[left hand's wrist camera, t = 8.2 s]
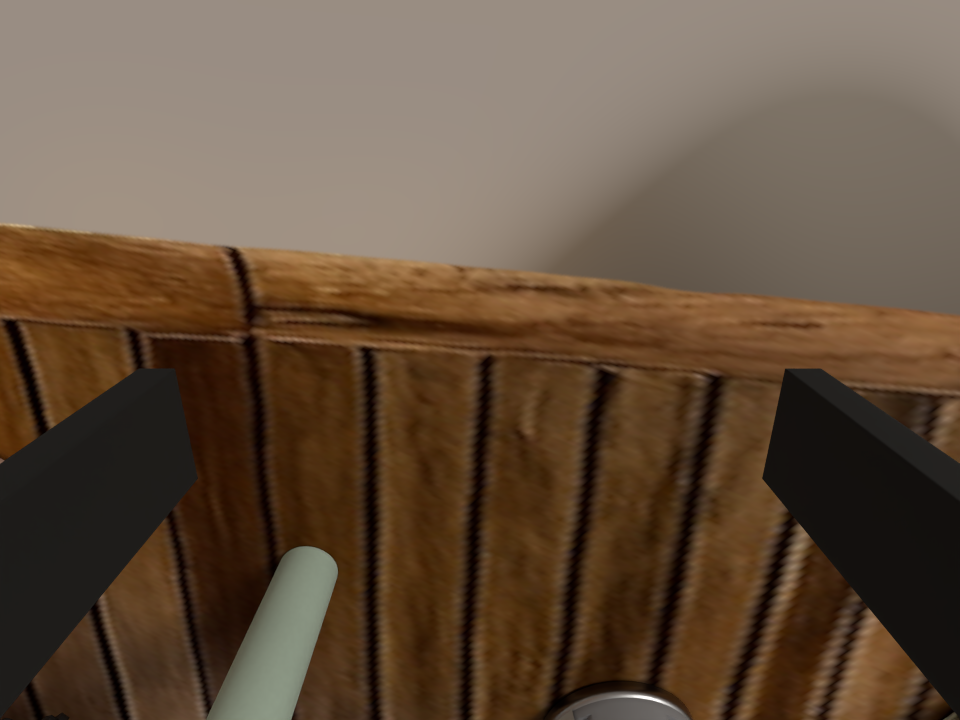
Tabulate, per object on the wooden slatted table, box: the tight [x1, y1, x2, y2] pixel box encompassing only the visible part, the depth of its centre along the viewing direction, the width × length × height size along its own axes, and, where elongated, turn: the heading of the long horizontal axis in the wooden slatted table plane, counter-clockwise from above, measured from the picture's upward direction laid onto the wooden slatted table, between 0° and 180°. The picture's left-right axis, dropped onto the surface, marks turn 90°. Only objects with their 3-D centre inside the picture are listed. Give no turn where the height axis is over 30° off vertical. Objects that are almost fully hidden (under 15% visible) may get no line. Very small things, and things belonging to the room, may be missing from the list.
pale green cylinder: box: [206, 546, 338, 720], centre depth 40 cm, size 5×5×20 cm
